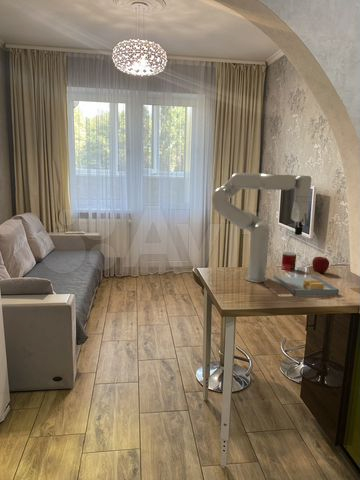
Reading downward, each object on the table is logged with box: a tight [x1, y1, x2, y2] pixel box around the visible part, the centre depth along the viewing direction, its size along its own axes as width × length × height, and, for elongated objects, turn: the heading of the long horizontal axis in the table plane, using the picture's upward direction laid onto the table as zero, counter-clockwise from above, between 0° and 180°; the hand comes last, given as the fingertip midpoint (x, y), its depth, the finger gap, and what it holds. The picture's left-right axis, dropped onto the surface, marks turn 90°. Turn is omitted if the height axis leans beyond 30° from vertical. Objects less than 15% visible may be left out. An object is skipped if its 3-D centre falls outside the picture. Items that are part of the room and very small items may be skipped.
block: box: [303, 279, 325, 289], centre depth 184 cm, size 7×7×4 cm
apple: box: [311, 256, 330, 274], centre depth 219 cm, size 10×10×10 cm
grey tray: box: [272, 273, 340, 297], centre depth 192 cm, size 26×23×3 cm
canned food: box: [281, 251, 297, 272], centre depth 221 cm, size 8×8×11 cm
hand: (298, 234), depth 192 cm, fingers closed
